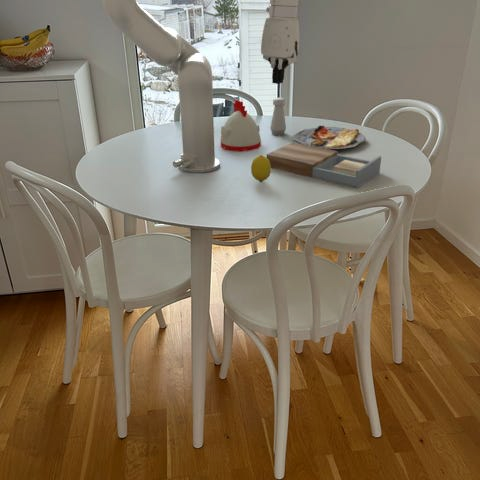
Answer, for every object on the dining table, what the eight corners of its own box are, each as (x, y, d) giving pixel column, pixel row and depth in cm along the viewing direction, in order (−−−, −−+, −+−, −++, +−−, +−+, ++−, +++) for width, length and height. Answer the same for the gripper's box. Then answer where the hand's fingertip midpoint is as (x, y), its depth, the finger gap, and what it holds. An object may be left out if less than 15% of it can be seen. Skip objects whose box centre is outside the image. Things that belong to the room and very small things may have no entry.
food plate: (315, 128, 189) (315, 119, 188) (374, 138, 178) (375, 129, 176) (282, 146, 171) (282, 136, 170) (345, 159, 160) (346, 149, 158)
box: (357, 188, 136) (359, 171, 133) (312, 177, 143) (313, 161, 141) (379, 172, 146) (381, 156, 144) (336, 163, 154) (337, 148, 151)
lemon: (264, 187, 137) (265, 159, 133) (247, 183, 140) (247, 156, 136) (274, 181, 141) (274, 153, 138) (257, 177, 144) (257, 150, 140)
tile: (333, 166, 142) (333, 174, 143) (356, 171, 138) (355, 179, 139) (344, 159, 147) (344, 167, 148) (367, 164, 143) (366, 172, 144)
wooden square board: (312, 177, 143) (313, 164, 141) (266, 166, 152) (266, 154, 150) (336, 163, 154) (337, 151, 152) (292, 154, 162) (292, 142, 160)
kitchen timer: (248, 137, 180) (248, 95, 173) (268, 147, 170) (268, 103, 163) (213, 143, 175) (212, 99, 168) (231, 153, 164) (231, 107, 157)
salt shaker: (268, 135, 182) (269, 99, 176) (272, 131, 187) (272, 96, 181) (284, 136, 181) (285, 100, 175) (287, 132, 185) (288, 97, 179)
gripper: (252, 11, 136) (249, 80, 144) (298, 15, 128) (292, 88, 136) (268, 10, 141) (264, 77, 149) (314, 14, 133) (306, 85, 141)
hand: (277, 82), depth 143 cm, fingers closed
